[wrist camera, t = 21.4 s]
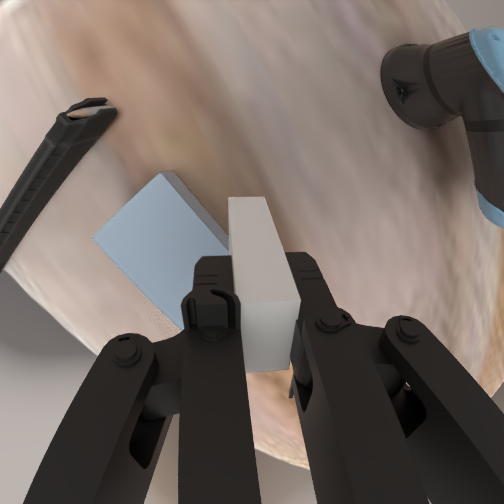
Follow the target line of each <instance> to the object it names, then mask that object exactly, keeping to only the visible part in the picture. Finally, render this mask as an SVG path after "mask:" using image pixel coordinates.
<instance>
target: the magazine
mask: <svg viewBox="0 0 504 504" xmlns="http://www.w3.org/2000/svg"><path fill="white" fill-rule="evenodd" d="M106 101H107V99H106V98H87V99H85V100H84V101H82V102H80V103H77V104H74V105H72V106H71V107H70V108H69V110H67V111H66V112H62V113H60V114H59V115H58V116H57V118H56V122H55V124H54V125H53V126H52V128H51V129H50V130H49V132H48V133H47V134H46V136H45V139H44V140H43V142H42V143H41V145H40V146H39V148H38V149H37V151H36V152H35V154H34V155H33V157H32V159H31V160H30V162H29V163H28V165H27V166H26V168H25V170H24V171H23V173H22V174H21V176H20V177H19V179H18V181H17V182H16V184H15V186H14V187H13V189H12V190H11V192H10V194H9V195H8V197H7V199H6V200H5V202H4V203H3V205H2V207H1V208H0V273H1V271H2V268H3V267H4V265H5V264H6V262H7V260H8V259H9V257H10V256H11V254H12V253H13V251H14V250H15V248H16V247H17V245H18V244H19V242H20V241H21V239H22V238H23V236H24V235H25V234H26V232H27V231H28V229H29V228H30V226H31V225H32V224H33V222H34V221H35V219H36V218H37V217H38V215H39V214H40V212H41V211H42V210H43V208H44V207H45V205H46V204H47V203H48V201H49V200H50V199H51V197H52V196H53V195H54V193H55V192H56V191H57V189H58V188H59V187H60V185H61V184H62V183H63V181H64V180H65V179H66V177H67V176H68V175H69V173H70V172H71V171H72V169H73V168H74V167H75V165H76V164H77V163H78V161H79V160H80V159H81V158H82V156H83V155H84V154H85V153H86V151H87V150H88V149H89V148H90V146H91V145H92V144H93V143H94V141H95V140H96V139H97V138H98V137H99V136H100V135H101V133H102V132H103V131H104V130H105V128H106V127H107V126H108V125H109V124H110V122H111V121H112V120H113V119H114V118H115V116H116V115H117V110H116V108H112V106H109V105H106V104H105V102H106Z"/></svg>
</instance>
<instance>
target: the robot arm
mask: <svg viewBox="0 0 504 504" xmlns="http://www.w3.org/2000/svg"><path fill="white" fill-rule="evenodd" d="M381 80H382V85H383V89H384V92H385V95H386V97H387V100H388V102H389V103H390V105H391V107H392V108H393V110H394V111H395V112H396V114H397V115H398V116H399V117H400V118H401V119H402V120H403V121H404V122H406V123H407V124H409V125H410V126H412V127H414V128H417V129H435V128H439V127H441V126H443V125H444V124H446V123H447V122H448V121H451V120H453V119H454V118H456V117H458V116H463V120H464V124H465V128H466V133H467V138H468V143H469V147H470V153H471V158H472V164H473V170H474V176H475V180H474V185H475V188H476V191H477V196H478V202H479V207H480V209H481V211H482V213H483V214H484V216H485V217H486V218H487V219H488V220H489V221H491V222H492V223H494V224H495V225H497V226H499V227H501V228H504V29H502V28H499V27H488V28H483V29H473V30H472V31H470V32H468V33H464V34H461V35H458V36H455V37H452V38H449V39H447V40H444V41H441V42H438V43H435V44H433V45H416V44H404V45H401V46H398V47H396V48H394V49H392V50H391V51H389V52H388V53H387V55H386V56H385V58H384V60H383V63H382V67H381ZM228 224H229V255H222V256H201V258H200V259H199V260H198V261H197V263H196V264H195V267H194V277H193V287H192V291H190V292H189V293H188V294H187V295H186V296H185V297H184V298H183V300H182V303H181V305H180V306H181V312H182V318H183V324H184V330H182V331H181V332H180V333H179V334H177V335H176V336H174V337H171V338H169V339H166V340H162V341H158V342H154V343H152V342H151V341H150V340H149V339H148V338H147V337H145V336H142V335H140V334H134V333H127V334H122V335H118V336H116V337H115V338H113V339H111V340H110V341H109V342H108V343H107V344H106V345H105V346H104V347H103V349H102V350H101V352H100V354H99V355H98V357H97V359H96V361H95V362H94V364H93V366H92V367H91V369H90V371H89V373H88V375H87V376H86V378H85V380H84V381H83V383H82V385H81V387H80V388H79V391H78V392H77V394H76V396H75V397H74V399H73V401H72V403H71V405H70V406H69V408H68V410H67V412H66V414H65V416H64V418H63V420H62V422H61V423H60V425H59V427H58V429H57V431H56V433H55V435H54V437H53V439H52V441H51V443H50V445H49V447H48V449H47V451H46V453H45V455H44V458H43V460H42V462H41V464H40V466H39V468H38V471H37V473H36V475H35V477H34V479H33V482H32V484H31V486H30V488H29V491H28V493H27V495H26V498H25V500H24V502H23V504H144V501H145V498H146V495H147V492H148V489H149V486H150V483H151V479H152V476H153V473H154V470H155V467H156V464H157V461H158V458H159V455H160V452H161V450H162V446H163V444H164V440H165V438H166V435H167V432H168V429H169V426H170V423H171V420H172V417H173V415H174V414H178V413H180V418H179V457H178V504H261V496H260V489H259V481H258V473H257V466H256V458H255V450H254V442H253V433H252V425H251V417H250V408H249V399H248V391H247V382H246V373H249V372H264V371H277V370H288V369H289V365H290V360H291V363H292V367H293V371H294V372H293V377H292V381H291V386H290V390H289V398H293V394H294V396H295V401H296V406H297V410H298V415H299V419H300V424H301V429H302V433H303V438H304V443H305V447H306V452H307V457H308V461H309V466H310V471H311V475H312V480H313V485H314V490H315V495H316V499H317V504H429V501H428V499H429V500H430V501H431V503H432V504H504V414H503V413H502V411H501V410H500V409H499V408H498V406H497V405H496V404H495V403H494V402H493V400H492V399H491V398H490V397H489V396H488V394H487V393H486V392H485V391H484V390H483V389H482V387H481V386H480V385H479V384H478V383H477V382H476V380H475V379H474V378H473V377H472V376H471V375H470V374H469V373H468V371H467V370H466V369H465V368H464V367H463V366H462V365H461V364H460V362H459V361H458V360H457V359H456V358H455V357H454V356H453V355H452V354H451V353H450V352H449V350H448V349H447V348H446V347H445V346H444V345H443V344H442V343H441V342H440V341H439V340H438V339H437V338H436V337H435V336H434V335H433V333H432V332H431V331H430V330H429V329H428V328H427V327H426V326H425V325H424V324H422V323H421V322H420V321H418V320H417V319H414V318H412V317H410V316H402V315H400V316H395V317H392V318H391V319H389V320H388V321H387V323H386V326H385V328H380V327H372V326H365V325H360V324H357V323H355V320H354V319H353V318H352V316H351V315H350V314H349V313H348V312H346V311H345V310H343V309H341V308H338V307H337V305H336V303H335V301H334V299H333V297H332V294H331V292H330V290H329V288H328V286H327V284H326V282H325V280H324V279H323V275H322V273H321V271H320V269H319V267H318V265H317V263H316V261H315V259H313V258H312V257H311V256H310V255H309V254H307V253H306V252H285V253H284V250H283V247H282V244H281V242H280V239H279V236H278V233H277V230H276V228H275V225H274V222H273V219H272V216H271V214H270V211H269V208H268V206H267V203H266V200H265V197H228ZM406 382H407V383H408V385H409V386H410V387H409V386H408V385H407V384H406ZM427 497H428V499H427Z"/></svg>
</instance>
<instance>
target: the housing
mask: <svg viewBox="0 0 504 504" xmlns="http://www.w3.org/2000/svg"><path fill="white" fill-rule="evenodd" d="M92 239H93V240H94V241H95V242H96V243H97V245H98V246H99V247H100V248H101V249H102V250H103V251H104V252H105V254H106V255H107V256H108V257H109V258H110V259H111V260H112V261H113V262H114V263H115V264H116V266H117V267H118V268H119V269H120V270H121V271H122V272H123V273H124V274H125V275H126V276H127V277H128V278H129V279H130V280H131V281H132V282H133V283H134V284H135V286H136V287H137V288H138V289H139V290H140V291H141V292H142V293H143V294H144V295H145V296H146V297H147V298H148V299H149V300H150V301H151V302H152V303H153V304H154V305H155V306H156V307H157V308H158V309H160V310H161V311H162V312H163V313H164V314H165V315H166V316H167V317H168V318H169V319H170V320H171V321H172V322H173V323H174V324H175V325H176V326H177V327H178V328H180V329H181V330H183V329H184V324H183V318H182V312H181V306H180V305H181V303H182V300H183V298H184V297H185V296H186V295H187V294H188V293H189V292H190V291H192V287H193V277H194V267H195V264H196V263H197V261H198V260H199V259H200V258H201V256H222V255H229V236H228V235H227V234H226V232H225V231H224V230H223V229H222V228H221V227H220V225H219V224H218V223H217V222H216V221H215V220H214V218H213V217H212V216H211V215H210V214H209V213H208V211H207V210H206V209H205V208H204V207H203V205H202V204H201V203H200V202H199V201H198V200H197V198H196V197H195V196H194V195H193V194H192V193H191V191H190V190H189V189H188V188H187V187H186V185H185V184H184V183H183V182H182V181H181V180H180V178H179V177H178V176H177V175H176V174H175V172H174V171H167V172H160V173H159V174H158V175H157V176H156V177H155V178H153V179H152V180H151V181H150V182H149V183H148V184H147V185H146V186H145V187H143V188H142V189H141V190H140V191H139V192H138V193H137V194H136V195H135V196H134V197H133V198H132V199H131V200H130V201H128V202H127V203H126V204H125V205H124V206H123V207H122V208H121V209H120V210H119V211H118V212H117V213H116V214H115V215H114V216H113V217H112V218H111V219H110V220H109V221H108V222H107V223H106V224H105V225H104V226H103V227H102V228H101V229H100V230H99V231H98V232H97V233H96V234H95V235H94V236H93V237H92Z"/></svg>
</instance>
